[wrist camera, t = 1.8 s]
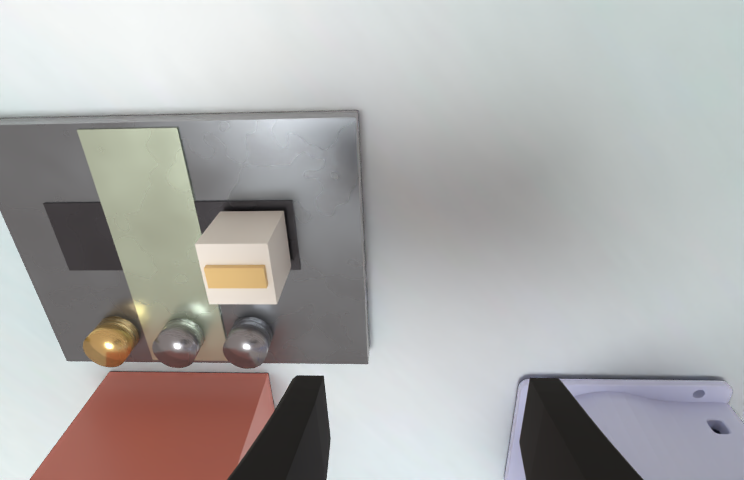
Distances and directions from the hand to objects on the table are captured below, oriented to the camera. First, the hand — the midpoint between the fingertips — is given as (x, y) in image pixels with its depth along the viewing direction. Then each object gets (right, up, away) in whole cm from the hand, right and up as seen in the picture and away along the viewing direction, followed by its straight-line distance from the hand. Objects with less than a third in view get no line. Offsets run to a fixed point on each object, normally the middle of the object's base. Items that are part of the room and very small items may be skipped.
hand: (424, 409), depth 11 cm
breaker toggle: (-6, +4, +7) cm, 10 cm away
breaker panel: (-8, +4, +9) cm, 13 cm away
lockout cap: (-10, -5, +14) cm, 18 cm away
